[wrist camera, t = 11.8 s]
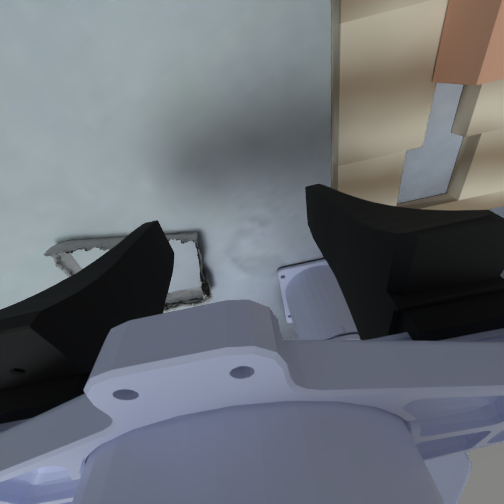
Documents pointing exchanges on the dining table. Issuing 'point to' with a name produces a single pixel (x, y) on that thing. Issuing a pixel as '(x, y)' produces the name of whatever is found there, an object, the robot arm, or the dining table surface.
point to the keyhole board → (405, 106)
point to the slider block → (471, 43)
